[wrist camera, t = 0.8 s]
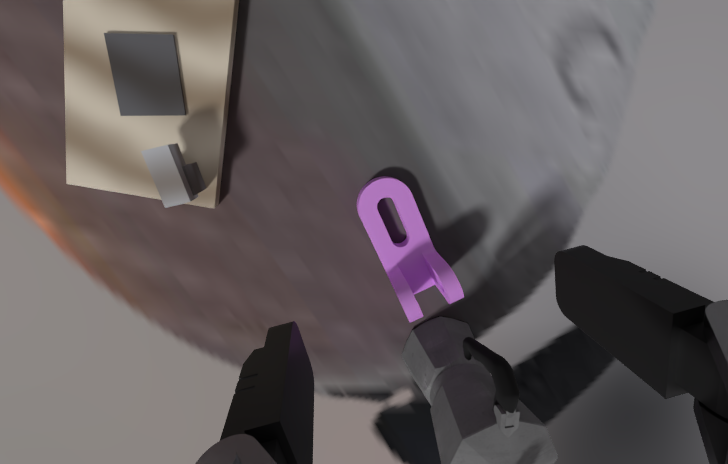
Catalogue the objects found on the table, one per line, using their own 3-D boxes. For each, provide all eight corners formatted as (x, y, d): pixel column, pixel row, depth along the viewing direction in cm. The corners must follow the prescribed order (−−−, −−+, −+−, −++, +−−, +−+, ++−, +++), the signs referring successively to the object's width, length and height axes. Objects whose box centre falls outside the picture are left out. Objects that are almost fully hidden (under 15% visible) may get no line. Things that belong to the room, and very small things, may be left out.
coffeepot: (474, 389, 44) (573, 556, 27) (401, 399, 43) (456, 579, 26) (480, 277, 40) (605, 395, 22) (398, 286, 39) (463, 416, 21)
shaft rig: (75, -84, 26) (14, -136, 21) (242, -36, 28) (225, -72, 23) (77, 181, 31) (30, 192, 26) (218, 204, 33) (200, 219, 28)
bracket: (442, 273, 39) (468, 304, 32) (397, 295, 39) (413, 330, 32) (398, 166, 35) (417, 177, 28) (347, 190, 35) (354, 206, 28)
